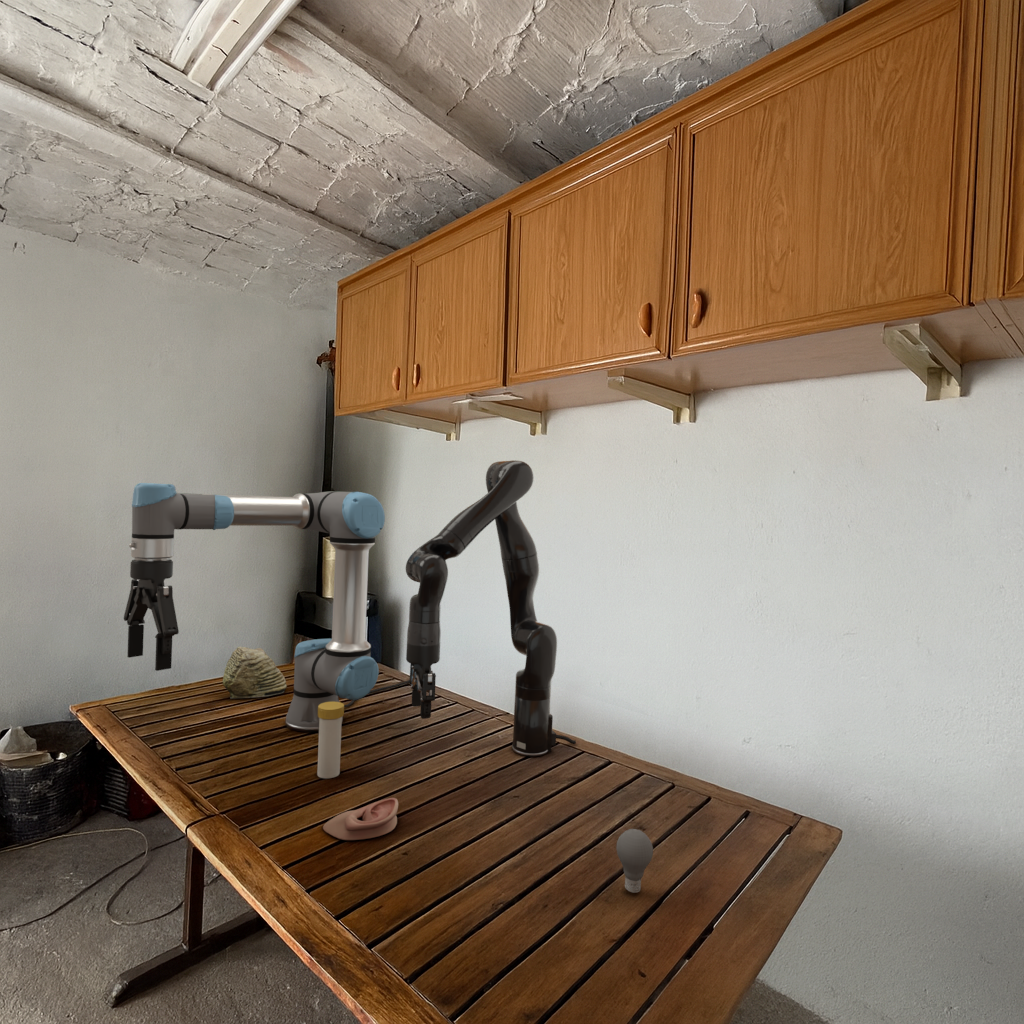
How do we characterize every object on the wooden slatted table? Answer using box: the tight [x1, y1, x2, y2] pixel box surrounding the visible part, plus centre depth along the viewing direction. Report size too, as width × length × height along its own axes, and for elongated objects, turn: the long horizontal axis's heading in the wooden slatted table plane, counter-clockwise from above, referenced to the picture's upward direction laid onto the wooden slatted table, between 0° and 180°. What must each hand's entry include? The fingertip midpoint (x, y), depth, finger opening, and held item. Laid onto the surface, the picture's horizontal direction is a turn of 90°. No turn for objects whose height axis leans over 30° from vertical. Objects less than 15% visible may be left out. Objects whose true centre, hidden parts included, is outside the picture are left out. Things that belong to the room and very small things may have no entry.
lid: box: [318, 701, 345, 720], centre depth 145 cm, size 6×6×2 cm
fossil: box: [222, 646, 288, 699], centre depth 198 cm, size 9×18×15 cm, turn 132°
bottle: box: [316, 717, 343, 779], centre depth 145 cm, size 5×5×15 cm
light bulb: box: [615, 828, 654, 894], centre depth 106 cm, size 6×6×10 cm
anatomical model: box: [322, 797, 399, 841], centre depth 122 cm, size 13×4×12 cm
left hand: (148, 662), depth 129 cm, fingers open, 13 cm apart
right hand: (420, 711), depth 144 cm, fingers open, 8 cm apart
